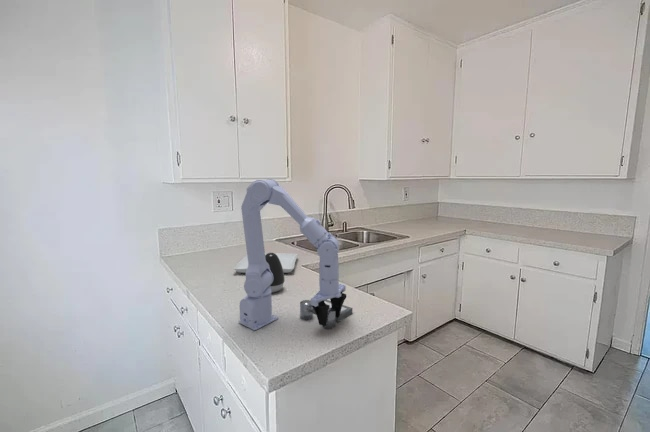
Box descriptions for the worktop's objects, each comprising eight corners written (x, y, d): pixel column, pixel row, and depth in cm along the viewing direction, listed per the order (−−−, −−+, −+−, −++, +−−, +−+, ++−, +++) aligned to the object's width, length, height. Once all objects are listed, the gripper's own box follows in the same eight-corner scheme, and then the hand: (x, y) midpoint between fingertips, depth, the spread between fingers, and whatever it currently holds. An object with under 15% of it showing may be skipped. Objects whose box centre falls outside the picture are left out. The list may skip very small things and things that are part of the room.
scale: (338, 322, 96) (338, 315, 96) (309, 311, 104) (308, 305, 103) (352, 313, 103) (352, 306, 102) (323, 303, 110) (323, 297, 110)
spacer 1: (307, 321, 97) (306, 306, 96) (297, 317, 100) (297, 302, 99) (315, 316, 100) (315, 302, 99) (306, 313, 103) (305, 298, 102)
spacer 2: (329, 330, 92) (330, 314, 91) (319, 326, 94) (319, 310, 93) (337, 325, 95) (338, 309, 94) (327, 321, 97) (327, 306, 96)
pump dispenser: (256, 287, 125) (254, 250, 123) (281, 284, 129) (280, 248, 127) (260, 297, 116) (258, 257, 114) (287, 293, 120) (286, 254, 117)
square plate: (293, 276, 140) (293, 268, 139) (232, 276, 140) (232, 268, 139) (298, 259, 167) (298, 252, 166) (247, 259, 166) (247, 252, 166)
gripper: (324, 287, 84) (324, 334, 86) (353, 273, 95) (353, 315, 97) (304, 282, 88) (305, 327, 90) (335, 269, 100) (335, 309, 102)
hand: (329, 320), depth 94 cm, fingers open, 6 cm apart
